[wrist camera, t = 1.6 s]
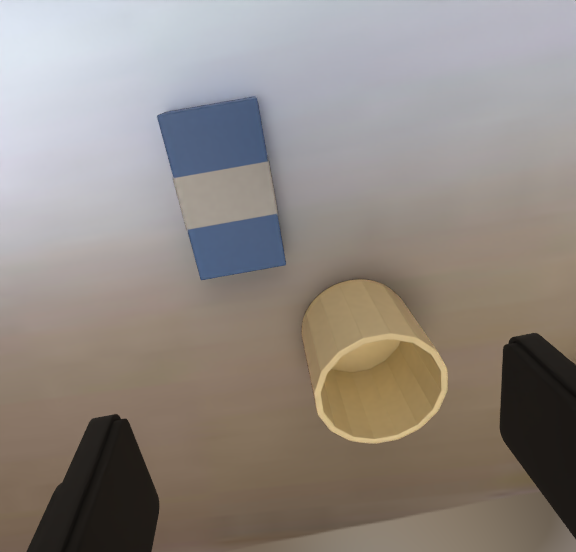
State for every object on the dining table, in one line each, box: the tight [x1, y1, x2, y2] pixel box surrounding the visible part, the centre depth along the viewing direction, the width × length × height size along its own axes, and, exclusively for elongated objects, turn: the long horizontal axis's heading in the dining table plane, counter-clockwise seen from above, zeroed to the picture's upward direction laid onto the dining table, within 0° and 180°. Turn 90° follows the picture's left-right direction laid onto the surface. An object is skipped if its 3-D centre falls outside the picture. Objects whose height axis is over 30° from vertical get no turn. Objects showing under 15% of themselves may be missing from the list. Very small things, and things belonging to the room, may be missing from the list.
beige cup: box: [301, 280, 448, 444], centre depth 30 cm, size 8×8×8 cm
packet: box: [157, 96, 286, 280], centre depth 27 cm, size 10×6×2 cm, turn 9°
